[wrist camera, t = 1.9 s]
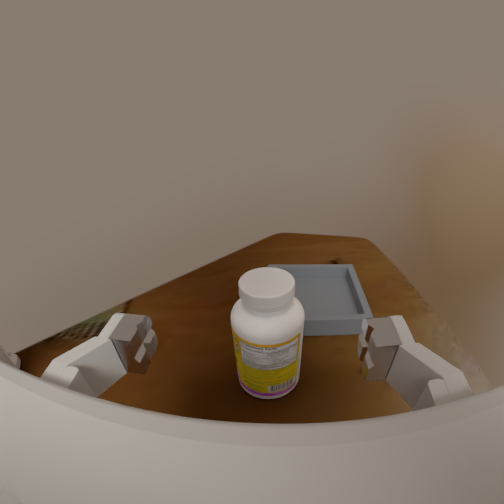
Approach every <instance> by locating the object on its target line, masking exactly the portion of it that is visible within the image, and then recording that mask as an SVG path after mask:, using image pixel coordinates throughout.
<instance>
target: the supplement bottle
mask: <svg viewBox="0 0 504 504" xmlns="http://www.w3.org/2000/svg"><path fill="white" fill-rule="evenodd" d="M238 286H239V297H240V299H239V300H238V301H237V302H236V303H235V304H234V306H233V308H232V311H231V328H232V335H233V342H234V350H235V358H236V365H237V372H238V378H239V382H240V384H241V386H242V387H243V389H244V390H245V391H246V392H248V393H249V394H250V395H252V396H254V397H258V398H262V399H274V398H279V397H282V396H284V395H286V394H288V393H289V392H290V391H291V390H292V389H293V388H294V387H295V386H296V384H297V382H298V379H299V373H300V364H301V353H302V342H303V331H304V320H305V313H304V309H303V306H302V304H301V303H300V301H299V300H298V299H297V298H296V297H294V295H295V280H294V277H293V276H292V275H291V274H290V273H289V272H287V271H285V270H283V269H279V268H273V267H263V268H257V269H253V270H250V271H248V272H246V273H245V274H243V275H242V276H241V277H240V279H239V282H238Z"/></svg>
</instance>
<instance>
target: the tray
mask: <svg viewBox="0 0 504 504" xmlns="http://www.w3.org/2000/svg"><path fill="white" fill-rule="evenodd" d="M268 267H273V268H279V269H283V270H285V271H287V272H289V273H290V274H291V275H292V276H293V277H294V280H295V295H294V297H296V298H297V299H298V300H299V301H300V303H301V304H302V306H303V309H304V313H305V320H304V331H303V336H320V335H350V334H361V333H362V332H363V331H362V327H361V326H362V321H363V319H364V318H373V315H372V313H371V310H370V307H369V305H368V302H367V300H366V297H365V294H364V292H363V289H362V287H361V285H360V282H359V280H358V277H357V275H356V272H355V270H354V268H353V265H352V264H340V265H268Z"/></svg>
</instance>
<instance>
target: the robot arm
mask: <svg viewBox="0 0 504 504" xmlns="http://www.w3.org/2000/svg"><path fill="white" fill-rule="evenodd" d="M151 326H152V322H151V319H150V317H148V316H143V315H134V314H124V313H115V314H114V315H113V316H112V318H111V319H110V320H109V322H108V323H107V325H106V326H105V327H104V329H103V330H102V332H101V333H100V334H99V336H98V337H93V338H91V339H90V340H88V341H86V342H84V343H82V344H81V345H79V346H77V347H75V348H73V349H71V350H70V351H68V352H66V353H64V354H62V355H61V356H59V357H57V358H55V359H53V361H52V362H51V363H50V365H49V366H48V368H47V369H46V370H45V372H44V373H43V375H42V376H41V378H38V377H36V376H34V375H31V374H29V373H26V372H24V371H22V370H20V363H21V361H20V358H19V357H18V356H17V355H16V354H13V353H6V351H5V350H4V348H3V347H2V345H1V344H0V504H504V385H501V386H499V387H496V388H493V389H490V390H488V391H485V392H482V393H479V394H476V395H473V393H472V391H471V389H470V387H469V385H468V382H467V380H466V378H465V376H464V374H463V372H462V371H460V370H459V369H457V368H456V367H454V366H453V365H451V364H450V363H448V362H447V361H445V360H444V359H442V358H441V357H439V356H438V355H436V354H435V353H433V352H432V351H430V350H429V349H427V348H426V347H424V346H423V345H421V344H420V343H415V341H414V339H413V337H412V335H411V332H410V330H409V328H408V326H407V324H406V322H405V320H404V318H403V316H401V315H396V316H389V317H376V318H364V319H363V321H362V326H361V327H362V331H363V332H362V333H361V334H360V335H359V339H358V356H359V359H360V360H361V361H362V362H363V364H362V372H363V376H364V380H365V381H374V380H385V379H386V381H387V382H388V383H389V384H390V385H391V387H392V388H393V389H394V390H395V391H396V392H397V393H398V394H399V395H400V396H401V397H402V398H403V399H404V400H405V401H406V402H407V403H408V404H409V405H410V406H411V407H412V408H413V409H412V411H411V412H405V413H400V414H394V415H388V416H382V417H375V418H367V419H359V420H349V421H338V422H325V423H303V424H263V423H242V422H228V421H217V420H207V419H199V418H191V417H184V416H177V415H171V414H165V413H160V412H154V411H149V410H144V409H140V408H135V407H131V406H126V405H122V404H118V403H114V402H111V401H107V400H103V399H100V398H97V397H98V396H99V395H100V394H102V393H103V392H104V391H105V390H107V389H108V388H109V387H110V386H111V385H113V384H114V383H115V382H116V381H118V380H119V379H120V378H121V377H122V376H124V375H125V374H126V373H127V372H132V373H139V374H145V373H146V371H147V369H148V367H149V365H150V363H151V362H150V360H149V358H150V357H151V356H153V355H154V354H155V352H156V349H157V336H156V333H155V332H154V331H153V330H152V329H151Z"/></svg>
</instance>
